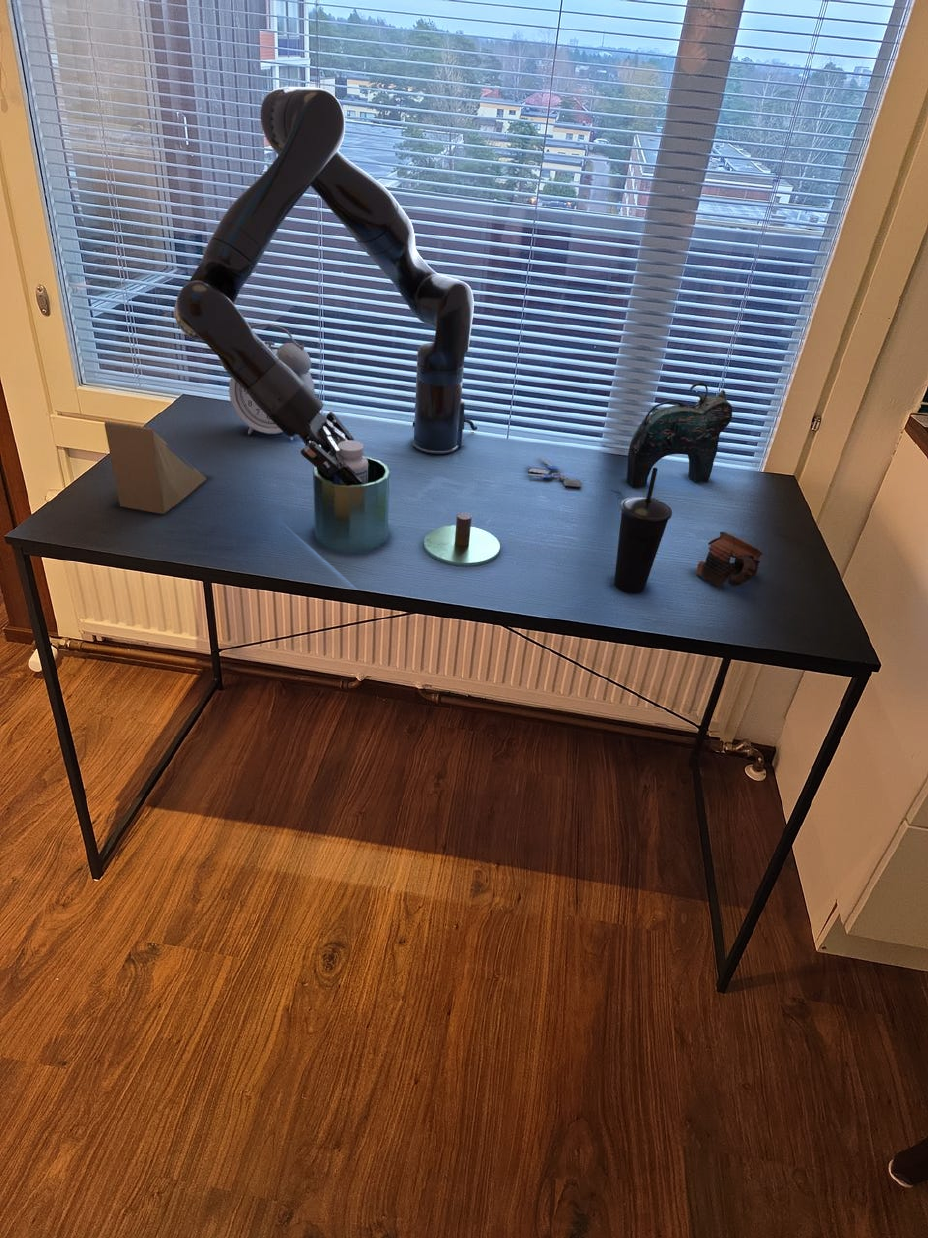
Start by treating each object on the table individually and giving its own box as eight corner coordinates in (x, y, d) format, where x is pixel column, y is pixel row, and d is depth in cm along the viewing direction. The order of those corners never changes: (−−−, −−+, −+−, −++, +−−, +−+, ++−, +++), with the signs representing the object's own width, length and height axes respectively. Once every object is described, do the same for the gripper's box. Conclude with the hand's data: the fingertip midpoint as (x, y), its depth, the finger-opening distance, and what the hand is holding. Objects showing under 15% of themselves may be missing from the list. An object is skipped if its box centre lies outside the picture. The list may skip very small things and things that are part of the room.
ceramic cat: (703, 471, 170) (728, 376, 159) (721, 485, 165) (747, 387, 154) (618, 478, 164) (638, 379, 153) (633, 492, 159) (655, 391, 148)
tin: (363, 514, 143) (363, 449, 136) (400, 543, 136) (403, 476, 129) (302, 530, 137) (300, 463, 130) (338, 561, 129) (337, 492, 123)
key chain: (587, 486, 160) (588, 482, 159) (554, 494, 155) (555, 490, 155) (542, 459, 169) (542, 456, 168) (510, 466, 165) (511, 463, 164)
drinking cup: (658, 581, 132) (686, 465, 121) (646, 603, 126) (675, 484, 115) (612, 568, 134) (636, 453, 123) (599, 589, 128) (622, 471, 117)
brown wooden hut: (681, 566, 137) (707, 522, 136) (723, 588, 141) (749, 546, 139) (718, 588, 126) (746, 540, 125) (763, 611, 130) (791, 565, 128)
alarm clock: (228, 434, 167) (218, 324, 155) (244, 420, 175) (236, 313, 162) (306, 445, 166) (302, 335, 154) (319, 430, 173) (317, 323, 161)
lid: (468, 525, 143) (471, 492, 140) (514, 556, 135) (519, 523, 132) (408, 542, 136) (409, 508, 133) (453, 576, 128) (456, 542, 125)
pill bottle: (337, 492, 135) (336, 436, 130) (369, 495, 135) (370, 439, 130) (331, 507, 131) (330, 450, 125) (365, 510, 131) (365, 453, 125)
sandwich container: (208, 478, 150) (200, 398, 142) (165, 514, 138) (152, 429, 129) (165, 470, 152) (154, 391, 143) (118, 505, 139) (103, 421, 131)
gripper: (288, 398, 116) (371, 485, 123) (312, 367, 128) (386, 447, 135) (254, 430, 120) (336, 512, 126) (281, 397, 131) (354, 474, 138)
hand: (362, 478), depth 130 cm, fingers closed on pill bottle, 5 cm apart
